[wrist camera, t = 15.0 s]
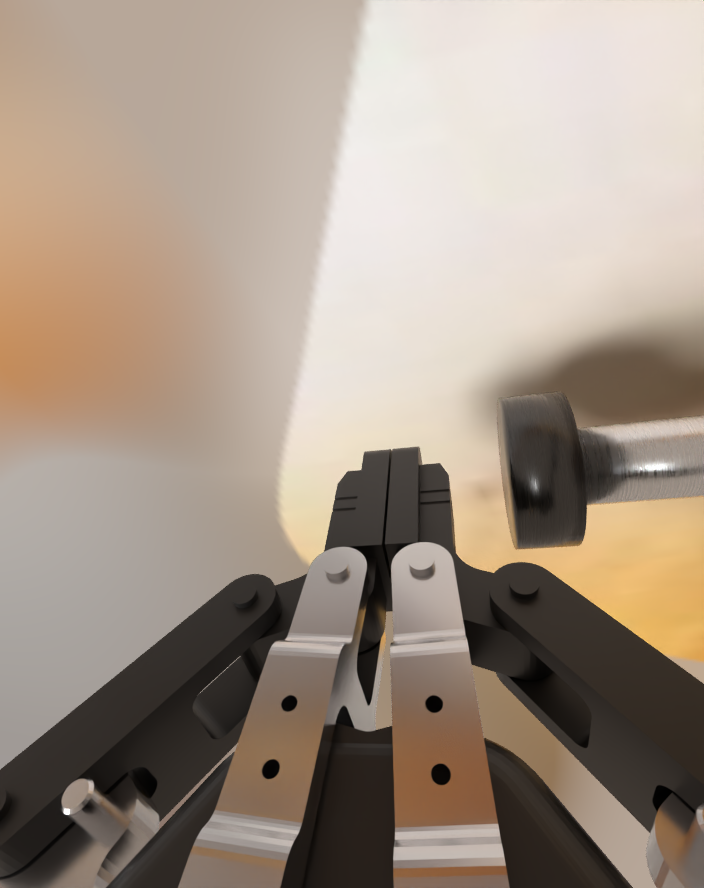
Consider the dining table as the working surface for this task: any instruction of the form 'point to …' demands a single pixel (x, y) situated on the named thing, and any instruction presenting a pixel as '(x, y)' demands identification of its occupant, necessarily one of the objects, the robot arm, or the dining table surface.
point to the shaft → (587, 466)
